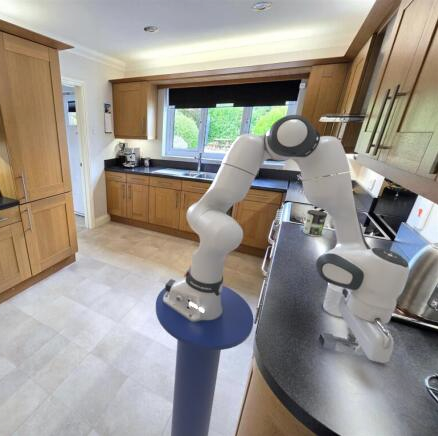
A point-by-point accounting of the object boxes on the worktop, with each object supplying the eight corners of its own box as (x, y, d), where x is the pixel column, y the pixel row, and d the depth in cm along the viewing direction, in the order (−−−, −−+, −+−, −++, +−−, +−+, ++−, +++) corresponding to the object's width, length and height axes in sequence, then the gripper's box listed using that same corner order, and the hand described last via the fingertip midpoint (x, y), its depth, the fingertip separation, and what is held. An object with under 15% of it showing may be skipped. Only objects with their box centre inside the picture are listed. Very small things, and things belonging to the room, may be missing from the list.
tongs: (380, 352, 70) (383, 345, 69) (387, 363, 67) (391, 355, 66) (318, 338, 74) (320, 331, 73) (322, 348, 71) (324, 340, 70)
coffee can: (324, 234, 154) (330, 213, 149) (316, 237, 149) (322, 216, 144) (307, 228, 162) (312, 208, 157) (299, 232, 157) (304, 211, 152)
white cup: (337, 320, 83) (346, 296, 80) (316, 305, 90) (322, 283, 87) (353, 315, 86) (362, 291, 82) (331, 301, 93) (338, 279, 89)
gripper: (410, 339, 55) (388, 382, 60) (364, 287, 73) (350, 323, 78) (376, 333, 57) (357, 375, 61) (339, 283, 75) (328, 319, 80)
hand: (353, 345), depth 70 cm, fingers closed on tongs, 3 cm apart
